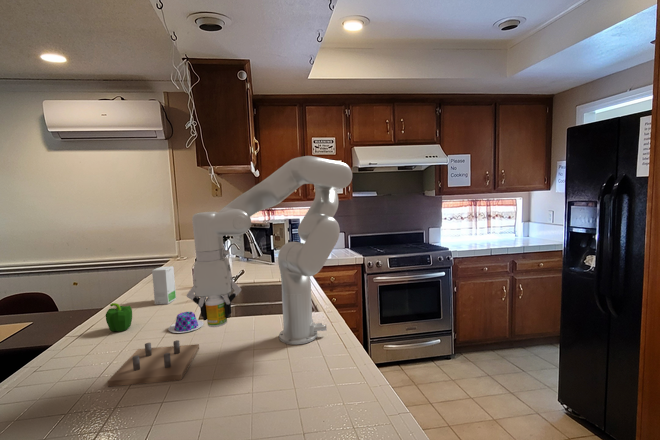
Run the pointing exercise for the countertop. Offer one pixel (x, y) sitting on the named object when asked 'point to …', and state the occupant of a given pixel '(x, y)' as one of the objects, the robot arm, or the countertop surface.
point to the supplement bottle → (215, 311)
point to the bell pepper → (119, 317)
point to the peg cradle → (155, 365)
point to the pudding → (185, 323)
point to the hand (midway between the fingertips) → (216, 316)
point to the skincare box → (164, 285)
